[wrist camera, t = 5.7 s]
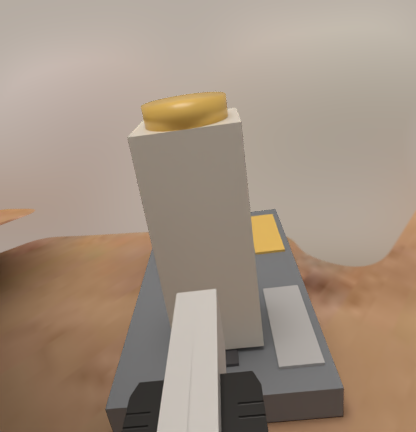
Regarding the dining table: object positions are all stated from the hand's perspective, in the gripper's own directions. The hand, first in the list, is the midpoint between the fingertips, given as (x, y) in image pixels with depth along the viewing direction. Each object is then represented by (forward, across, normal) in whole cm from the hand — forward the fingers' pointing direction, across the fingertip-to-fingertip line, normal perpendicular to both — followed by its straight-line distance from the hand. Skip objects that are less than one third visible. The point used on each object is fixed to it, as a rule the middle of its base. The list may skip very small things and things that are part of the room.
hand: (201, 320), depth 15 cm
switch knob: (+7, 0, -6) cm, 9 cm away
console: (+13, 0, -8) cm, 15 cm away
